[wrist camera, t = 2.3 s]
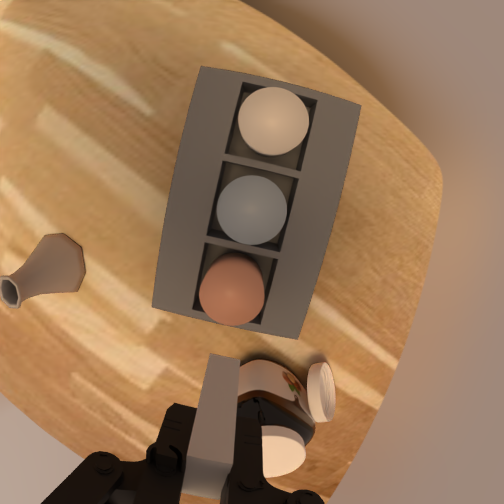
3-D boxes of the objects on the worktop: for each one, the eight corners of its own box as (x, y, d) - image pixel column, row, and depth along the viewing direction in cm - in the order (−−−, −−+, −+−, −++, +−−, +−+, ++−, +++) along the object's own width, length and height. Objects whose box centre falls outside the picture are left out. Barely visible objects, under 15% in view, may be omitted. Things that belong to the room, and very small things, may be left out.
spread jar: (211, 379, 34) (197, 452, 23) (280, 318, 32) (292, 387, 21) (281, 426, 36) (288, 495, 25) (348, 376, 34) (376, 444, 23)
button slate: (229, 169, 26) (225, 168, 22) (288, 183, 26) (294, 184, 22) (216, 227, 27) (210, 236, 23) (274, 240, 28) (277, 251, 24)
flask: (89, 241, 30) (36, 267, 21) (84, 300, 32) (37, 340, 22) (41, 225, 30) (-16, 244, 20) (38, 281, 32) (-12, 312, 22)
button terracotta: (212, 246, 28) (205, 258, 24) (269, 259, 28) (271, 273, 24) (201, 299, 29) (194, 317, 25) (255, 311, 29) (255, 331, 25)
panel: (207, 79, 26) (200, 66, 23) (348, 113, 27) (361, 105, 23) (162, 291, 32) (151, 307, 28) (292, 320, 32) (297, 339, 28)
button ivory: (248, 93, 24) (247, 80, 21) (306, 107, 25) (315, 97, 21) (234, 149, 26) (230, 144, 22) (293, 163, 26) (300, 161, 22)
